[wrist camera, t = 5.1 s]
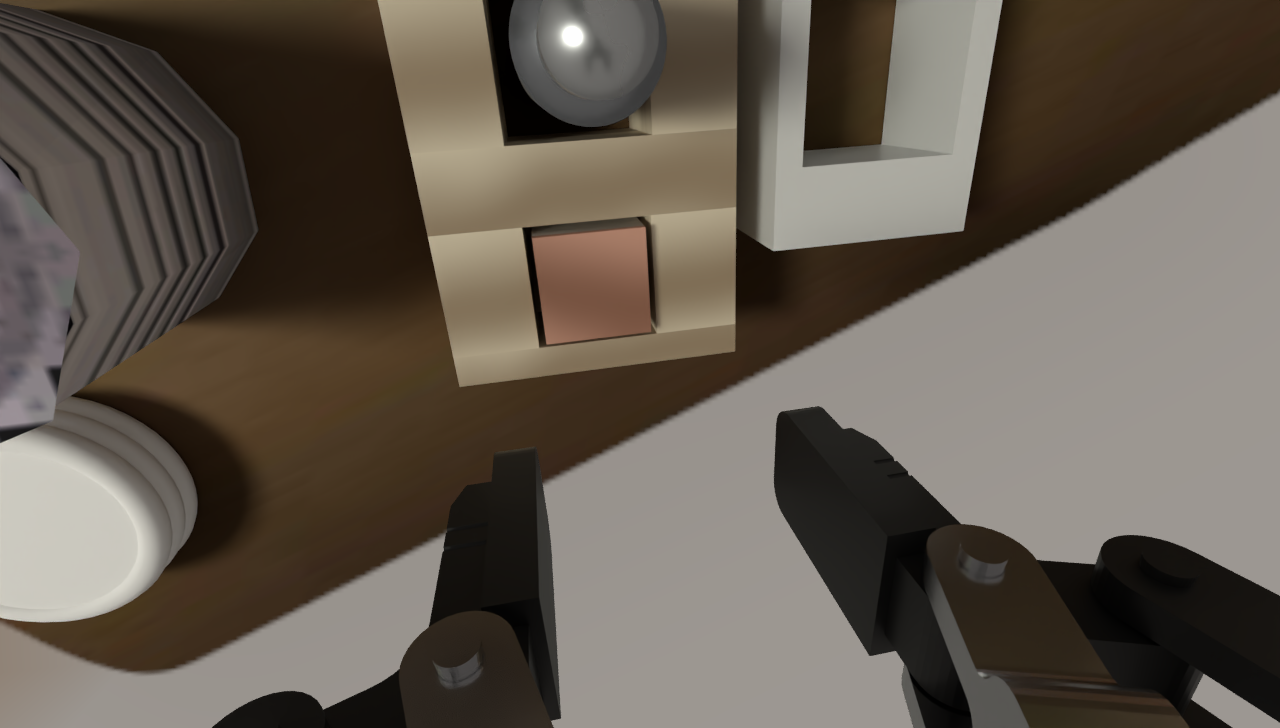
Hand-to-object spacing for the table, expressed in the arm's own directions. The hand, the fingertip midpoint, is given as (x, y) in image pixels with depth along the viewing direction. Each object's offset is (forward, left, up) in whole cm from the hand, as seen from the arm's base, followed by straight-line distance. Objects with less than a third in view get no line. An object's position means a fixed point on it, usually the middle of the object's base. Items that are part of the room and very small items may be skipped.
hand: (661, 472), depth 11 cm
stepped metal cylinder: (-7, 0, -17) cm, 19 cm away
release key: (0, 0, -16) cm, 16 cm away
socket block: (-4, 0, -17) cm, 18 cm away
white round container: (+9, -24, -18) cm, 31 cm away
